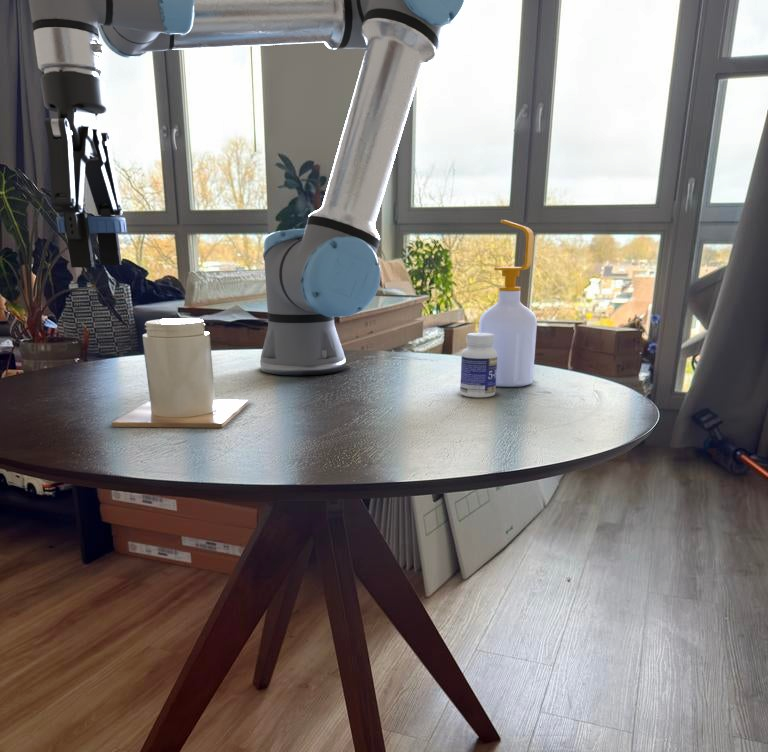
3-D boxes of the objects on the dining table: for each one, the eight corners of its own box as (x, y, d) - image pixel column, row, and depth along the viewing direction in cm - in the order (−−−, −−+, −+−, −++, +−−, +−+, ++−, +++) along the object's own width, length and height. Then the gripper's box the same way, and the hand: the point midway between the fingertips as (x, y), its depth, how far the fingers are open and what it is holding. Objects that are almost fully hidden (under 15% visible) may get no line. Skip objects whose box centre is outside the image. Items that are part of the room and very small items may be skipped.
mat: (152, 403, 104) (151, 399, 103) (248, 404, 103) (248, 399, 103) (112, 426, 90) (111, 422, 90) (222, 428, 90) (221, 423, 89)
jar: (164, 403, 100) (154, 317, 96) (223, 404, 100) (216, 317, 96) (141, 417, 93) (130, 324, 89) (206, 417, 92) (197, 324, 88)
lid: (57, 232, 92) (55, 216, 91) (58, 233, 99) (56, 218, 98) (129, 232, 95) (127, 216, 94) (125, 233, 102) (123, 218, 101)
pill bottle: (494, 398, 105) (497, 336, 102) (458, 397, 106) (460, 336, 103) (496, 391, 110) (499, 332, 107) (462, 390, 111) (464, 331, 108)
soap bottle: (484, 376, 123) (491, 220, 114) (537, 379, 120) (549, 220, 111) (470, 385, 115) (476, 219, 106) (527, 389, 112) (538, 218, 103)
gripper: (61, 54, 80) (91, 269, 88) (133, 91, 100) (152, 263, 108) (-4, 55, 81) (31, 269, 89) (80, 92, 101) (103, 263, 108)
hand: (97, 266), depth 98 cm, fingers closed on lid, 9 cm apart
